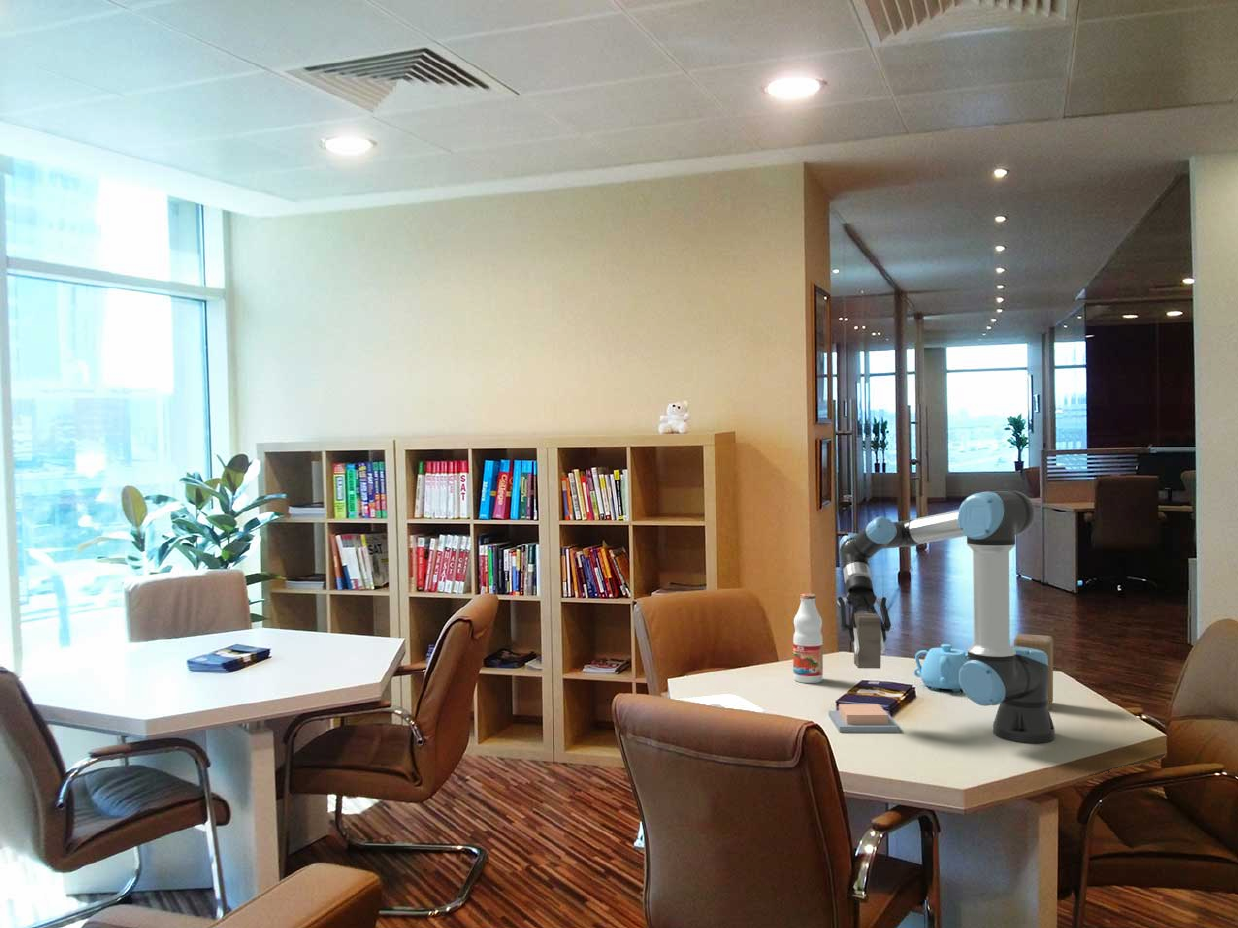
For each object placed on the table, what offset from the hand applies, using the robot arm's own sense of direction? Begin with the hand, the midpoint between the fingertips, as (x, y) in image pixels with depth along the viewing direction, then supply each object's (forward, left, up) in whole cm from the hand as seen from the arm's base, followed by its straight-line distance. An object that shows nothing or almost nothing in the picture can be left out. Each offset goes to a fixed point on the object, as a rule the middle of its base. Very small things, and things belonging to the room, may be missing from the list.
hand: (869, 651), depth 270 cm
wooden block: (+9, -57, -21) cm, 61 cm away
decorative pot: (+34, -44, -21) cm, 59 cm away
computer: (+24, +36, -22) cm, 48 cm away
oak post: (+4, -1, -5) cm, 6 cm away
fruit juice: (+54, -6, -21) cm, 58 cm away
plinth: (+4, 0, -21) cm, 21 cm away
